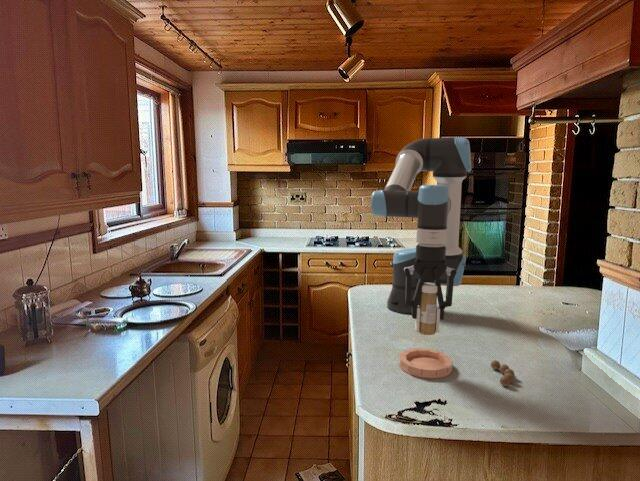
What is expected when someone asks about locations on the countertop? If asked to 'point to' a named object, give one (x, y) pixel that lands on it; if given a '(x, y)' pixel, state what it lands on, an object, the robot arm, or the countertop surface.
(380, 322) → the countertop surface
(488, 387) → the countertop surface
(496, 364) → the bead string
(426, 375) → the saucer
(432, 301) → the sprinkles bottle
